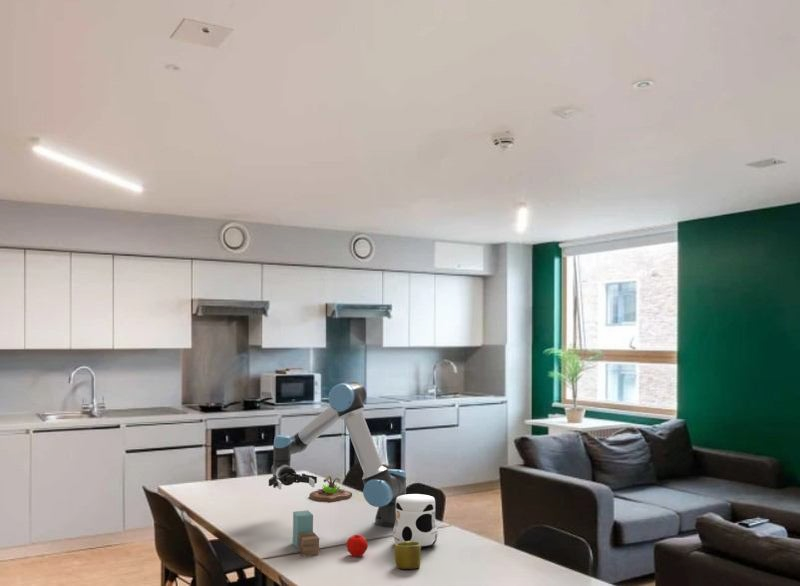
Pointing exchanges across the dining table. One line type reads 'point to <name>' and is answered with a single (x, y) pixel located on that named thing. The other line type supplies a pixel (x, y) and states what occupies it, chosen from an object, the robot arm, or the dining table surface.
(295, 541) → the teal pillar
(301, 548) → the brown block
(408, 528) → the milk container
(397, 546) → the mug
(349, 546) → the apple
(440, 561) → the dining table surface
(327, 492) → the plant
